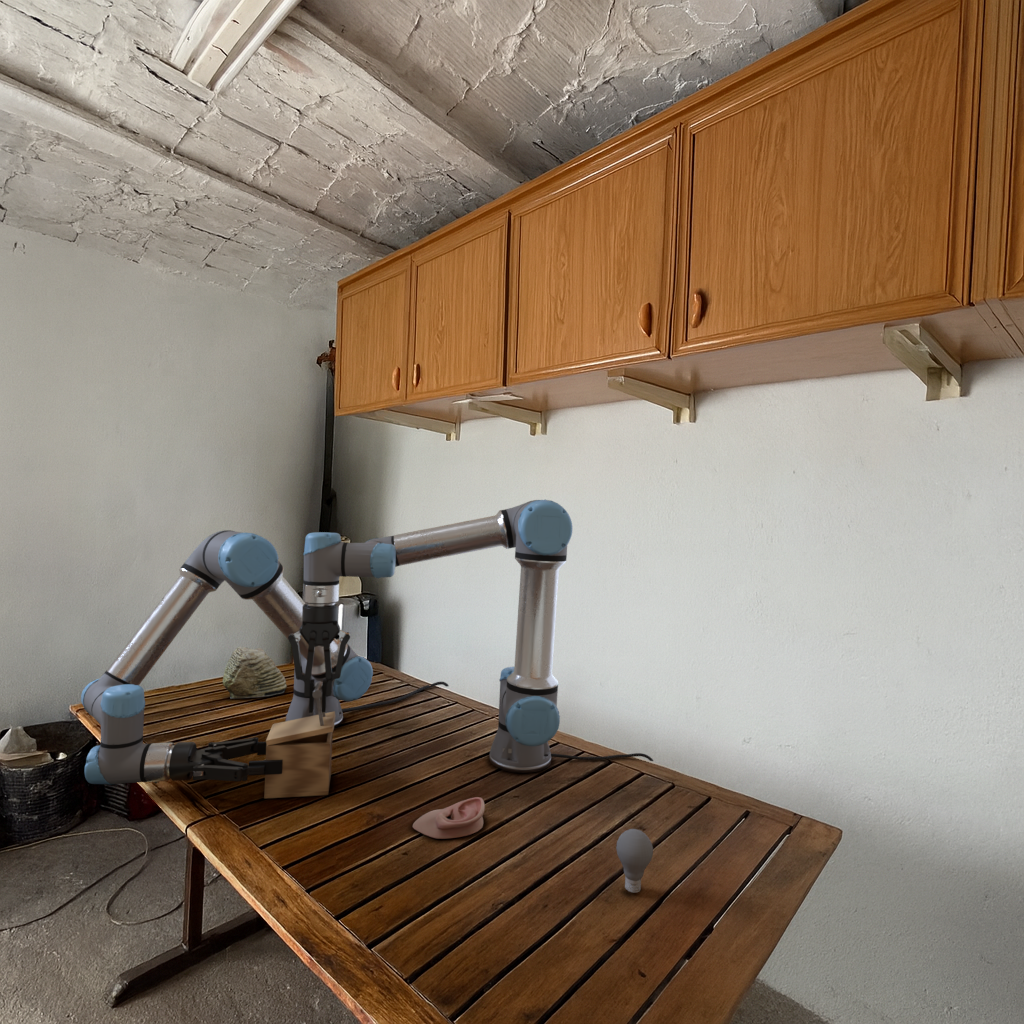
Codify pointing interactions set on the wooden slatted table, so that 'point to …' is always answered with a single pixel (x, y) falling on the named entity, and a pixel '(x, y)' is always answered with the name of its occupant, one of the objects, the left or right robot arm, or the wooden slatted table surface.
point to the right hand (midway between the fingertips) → (317, 710)
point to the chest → (300, 767)
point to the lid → (303, 723)
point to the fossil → (252, 674)
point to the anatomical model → (453, 820)
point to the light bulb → (634, 857)
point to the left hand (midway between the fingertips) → (285, 756)
